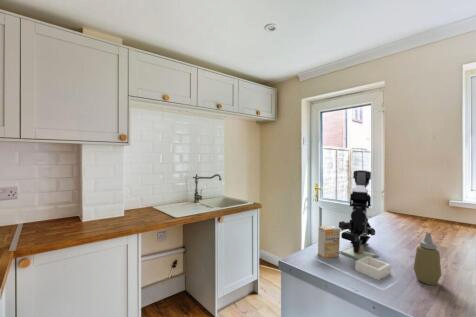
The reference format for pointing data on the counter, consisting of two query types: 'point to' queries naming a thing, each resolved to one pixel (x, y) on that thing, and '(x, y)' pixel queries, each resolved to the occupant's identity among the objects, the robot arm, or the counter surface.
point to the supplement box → (328, 241)
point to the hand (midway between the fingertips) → (358, 251)
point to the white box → (373, 267)
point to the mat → (355, 258)
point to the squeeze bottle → (427, 261)
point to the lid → (360, 253)
